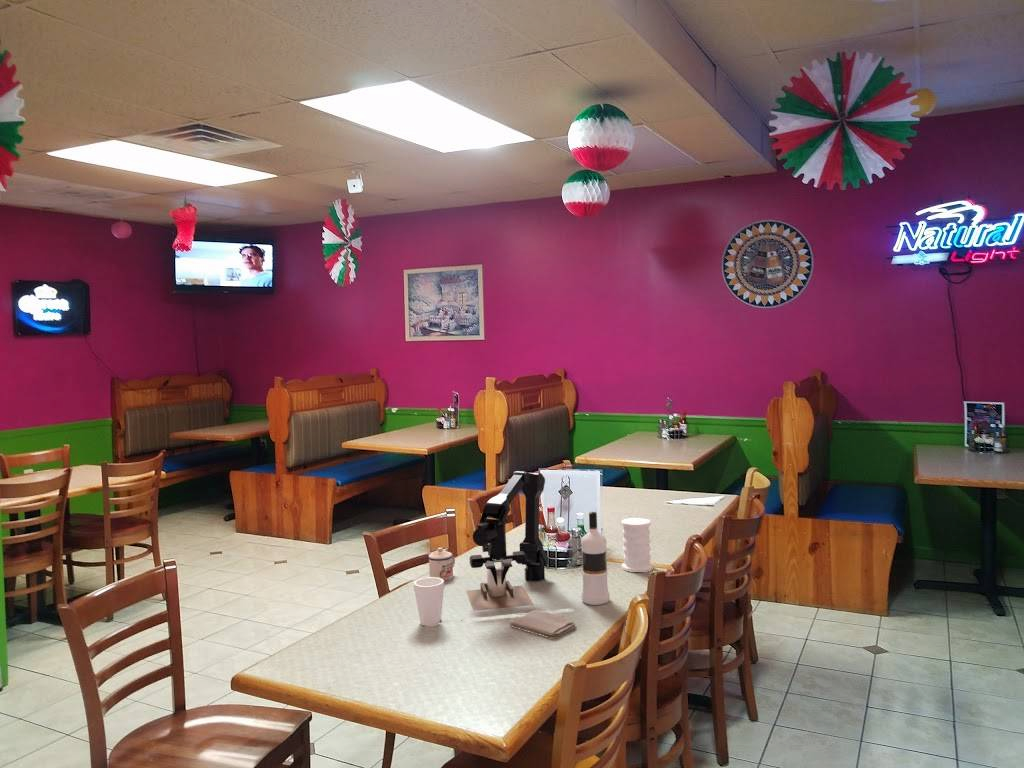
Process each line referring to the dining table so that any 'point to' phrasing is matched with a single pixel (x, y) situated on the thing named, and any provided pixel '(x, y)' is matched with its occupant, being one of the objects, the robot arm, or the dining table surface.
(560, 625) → the washcloth
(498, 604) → the dock
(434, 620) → the foam cup
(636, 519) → the decorative container
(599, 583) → the vodka
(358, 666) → the dining table surface
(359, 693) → the dining table surface
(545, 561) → the robot arm
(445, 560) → the teacup with lid
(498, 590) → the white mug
